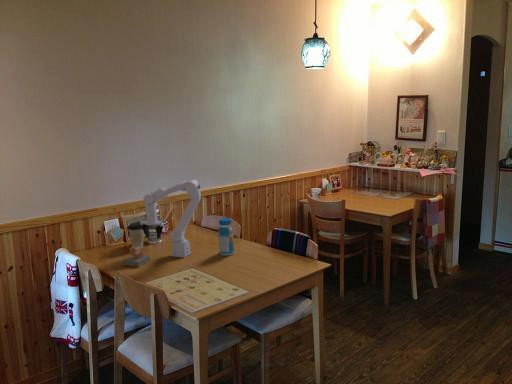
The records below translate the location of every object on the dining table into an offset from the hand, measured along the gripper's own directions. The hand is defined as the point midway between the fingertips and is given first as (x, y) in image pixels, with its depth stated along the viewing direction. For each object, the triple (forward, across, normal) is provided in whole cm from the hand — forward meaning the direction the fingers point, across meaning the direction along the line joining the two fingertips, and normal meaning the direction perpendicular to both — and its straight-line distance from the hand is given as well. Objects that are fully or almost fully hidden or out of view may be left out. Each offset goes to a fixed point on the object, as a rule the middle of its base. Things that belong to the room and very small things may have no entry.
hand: (153, 237), depth 262 cm
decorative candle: (+10, -15, +22) cm, 28 cm away
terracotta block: (+7, -1, -15) cm, 16 cm away
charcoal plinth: (+10, -1, -15) cm, 18 cm away
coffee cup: (+10, -16, +6) cm, 20 cm away
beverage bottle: (+10, +39, +14) cm, 43 cm away
